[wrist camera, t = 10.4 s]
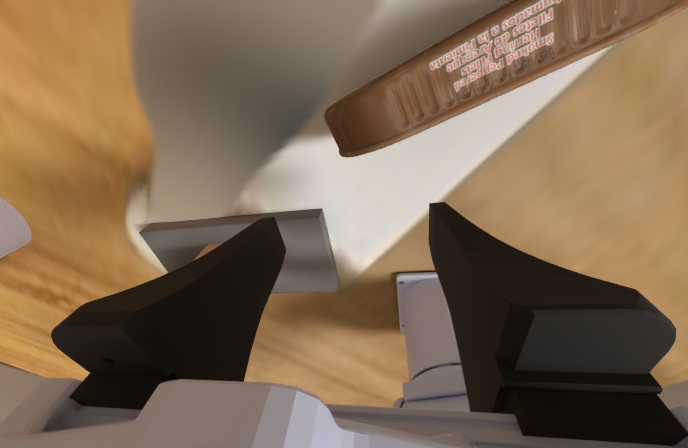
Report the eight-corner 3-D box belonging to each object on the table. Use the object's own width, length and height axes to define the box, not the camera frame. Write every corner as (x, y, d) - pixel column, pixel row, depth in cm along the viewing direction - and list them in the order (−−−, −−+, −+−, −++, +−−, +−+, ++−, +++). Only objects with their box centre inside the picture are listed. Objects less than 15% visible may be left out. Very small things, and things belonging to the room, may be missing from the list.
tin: (349, 137, 19) (333, 186, 12) (329, 95, 17) (297, 123, 11) (595, 16, 14) (815, -23, 7) (594, -58, 12) (872, -200, 5)
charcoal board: (339, 280, 27) (337, 291, 26) (192, 286, 30) (185, 295, 29) (322, 208, 22) (319, 217, 21) (150, 223, 26) (139, 232, 24)
